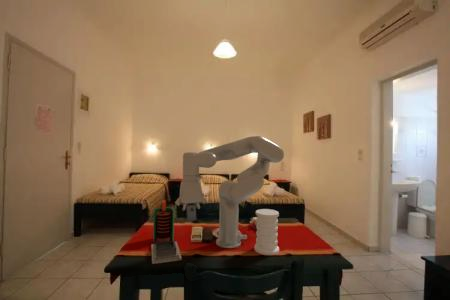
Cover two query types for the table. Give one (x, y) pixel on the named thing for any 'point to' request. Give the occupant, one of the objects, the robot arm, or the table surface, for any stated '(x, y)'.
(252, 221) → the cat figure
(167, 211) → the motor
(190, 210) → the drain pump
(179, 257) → the mounting plate
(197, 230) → the table surface
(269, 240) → the decorative container
